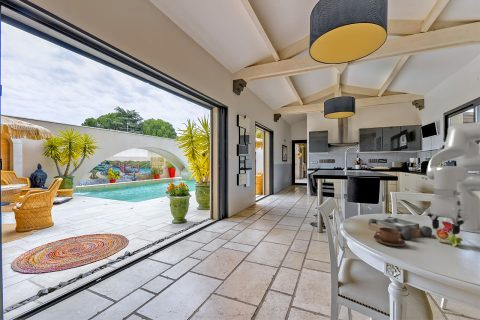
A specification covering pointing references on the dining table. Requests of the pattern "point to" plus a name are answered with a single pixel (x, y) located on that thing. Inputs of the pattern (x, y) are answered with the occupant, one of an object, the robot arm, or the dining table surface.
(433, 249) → the dining table surface
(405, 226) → the chassis
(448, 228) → the bird rattle
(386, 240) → the cup and saucer
